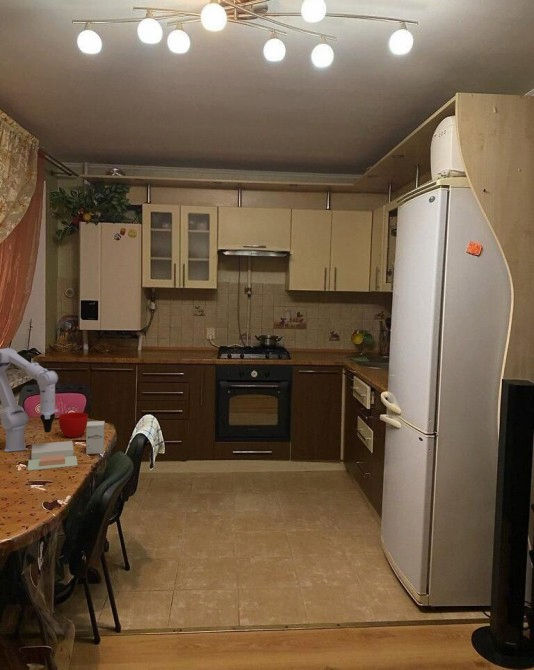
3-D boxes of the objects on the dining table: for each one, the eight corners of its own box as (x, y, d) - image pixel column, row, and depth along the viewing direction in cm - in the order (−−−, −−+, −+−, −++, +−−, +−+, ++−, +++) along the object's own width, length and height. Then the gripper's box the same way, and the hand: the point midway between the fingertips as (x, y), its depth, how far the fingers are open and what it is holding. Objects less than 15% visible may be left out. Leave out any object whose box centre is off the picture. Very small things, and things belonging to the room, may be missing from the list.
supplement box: (85, 454, 216) (85, 425, 215) (87, 449, 223) (87, 421, 222) (104, 453, 218) (104, 424, 217) (104, 448, 225) (104, 420, 224)
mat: (28, 461, 205) (28, 460, 205) (76, 456, 212) (76, 455, 212) (27, 470, 194) (27, 469, 194) (77, 465, 201) (77, 465, 201)
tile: (40, 461, 198) (40, 466, 199) (65, 459, 202) (65, 464, 202) (40, 456, 204) (40, 461, 204) (64, 454, 207) (64, 459, 208)
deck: (32, 450, 218) (32, 444, 218) (72, 447, 224) (72, 440, 224) (31, 460, 206) (31, 453, 206) (73, 456, 213) (73, 449, 212)
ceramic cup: (95, 431, 252) (95, 411, 251) (80, 440, 235) (80, 419, 234) (70, 429, 253) (70, 409, 252) (53, 439, 236) (53, 417, 236)
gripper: (58, 403, 209) (57, 435, 210) (57, 396, 222) (57, 426, 223) (39, 404, 206) (39, 437, 207) (40, 397, 219) (40, 427, 220)
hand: (47, 431), depth 215 cm, fingers closed
